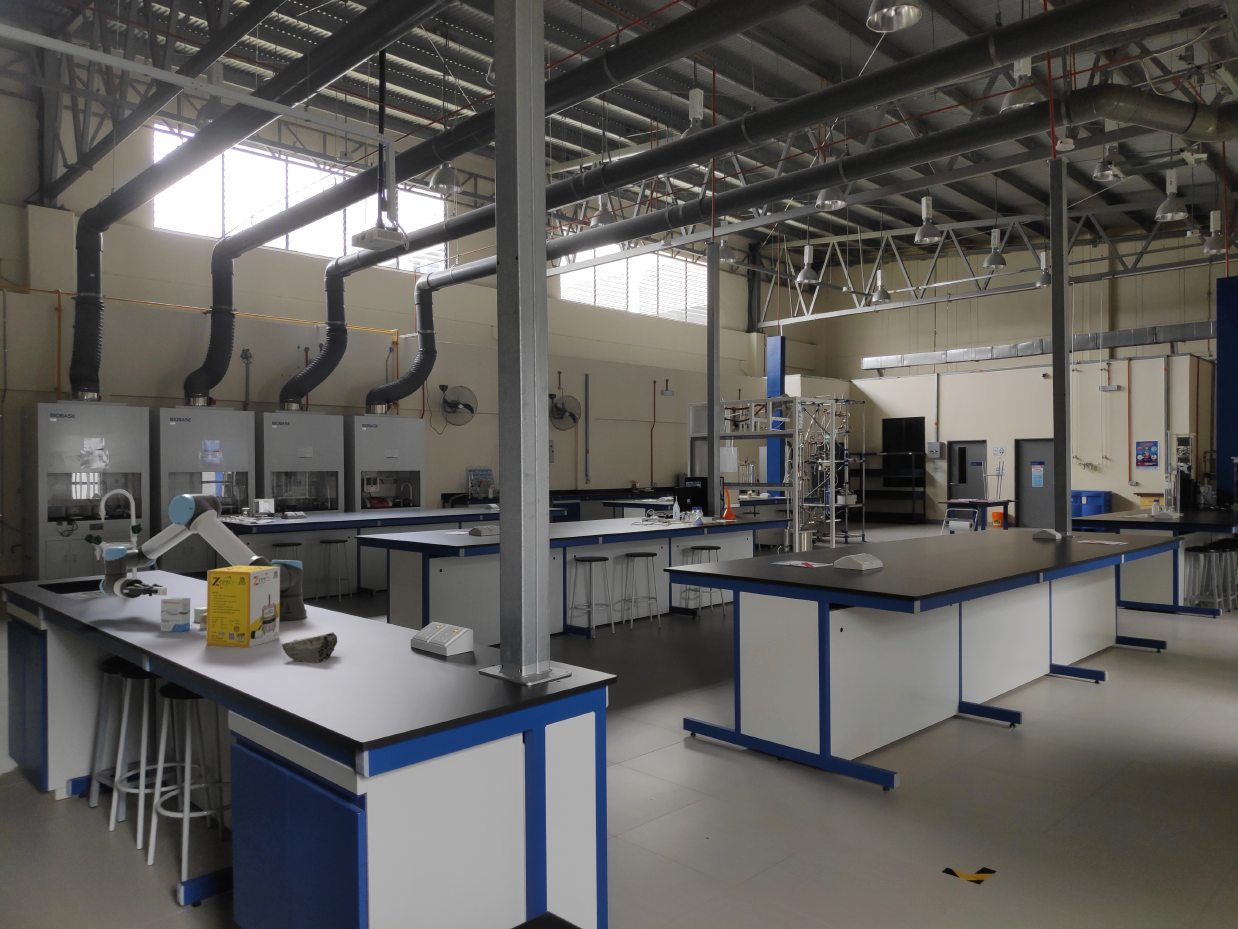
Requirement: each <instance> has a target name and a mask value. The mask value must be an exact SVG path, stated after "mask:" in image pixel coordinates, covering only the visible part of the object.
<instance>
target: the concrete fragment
mask: <svg viewBox="0 0 1238 929" xmlns="http://www.w3.org/2000/svg"><path fill="white" fill-rule="evenodd" d="M337 644H338V637H337V635H336V634H335V632H327V633H323V634H321V635H316V636H310V637H304V638H299V639H293V640H291V641H288V642H285V643H282V644H281V647H282V649H283V650H284V653H285V655H286V656H288V658H289V659H291V660H294V661H298V662H305V663H312V664H316V663H321V662H322V661H325V660H327V659H329V658H331V655H332V654H333V652H334V651H335V648H336V645H337Z"/></svg>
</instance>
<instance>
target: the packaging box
mask: <svg viewBox="0 0 1238 929" xmlns="http://www.w3.org/2000/svg"><path fill="white" fill-rule="evenodd" d="M206 581H207V582H206V585H207V586H206V607H207V629H206V641H205V642H206V646H217V647H234V648H235V647H236V648H252V647H256V646H259V645H261V644H265V643H267V642H271V641H274V640H277V639H279V638H280V621H279V614H280V567H268V566H240V565H238V566H232V565H231V566H228V567H227V566H226V567H221V568H215V569H210V570H207V580H206Z"/></svg>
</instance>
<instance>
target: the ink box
mask: <svg viewBox="0 0 1238 929" xmlns="http://www.w3.org/2000/svg"><path fill="white" fill-rule="evenodd" d="M160 601H161V602H160V631H161V632H180V633H181V632H186V631H188V630H189V631H190V630H191V598H190V597H174V596H173V597H172V596H171V597H170V596H168V597H165V598H162V599H160Z"/></svg>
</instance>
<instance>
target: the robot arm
mask: <svg viewBox="0 0 1238 929" xmlns="http://www.w3.org/2000/svg"><path fill="white" fill-rule="evenodd" d="M222 507H223V506H222V503H221V501H220V499H219V498H218V497H217V496H214V495H213V494H210V493H184V494H179V495H177V496H175V497H173V498H172V500H171V501H170V502H169V505H168V508H167V509H168V518H169V519H170V521H171V522H172V523H171V524H170V525H169V526H167V527H166V528H164V529H163V530H162V531H161V532H159V533H157V534H156V535H155V536H153V537H151V538H150V539H149V540H148V541H146V542H144V543H143V544H141V545H140V546H139V547H137V548H136V549H135V548H134V549H129V550H128V549H127V547H126V546H109V547H106V548H105V550H104V556H103V557H104V558H103V559H104V578H102V579H101V581H100V582H99V590H100V592H101V593H102V594H104V595H106V596H110V597H121V598H124V599H137V598H140V597H141V595H142V596H147V595H148V597H153V595H154V596H167V595H168V590H167V589H168V588H167V587H163V585H160V584H157V583H153V584H151V585H150V584H148V583H145V582H143V581H142V580H141V579H138V578H133V577H128V576H127V574H128V570H131V569H137V568H146V567H149V566H152V565H154V564H155V563H156V561H157V558H158V557H160V556H161V555H163V554H164V553H166V552H167V551H169V550H170V549H171V548H173V547H174V546H177V544H179V543H180V542H182V541H184V540H185V539H186V538H188V537H189V536H190V535H192V534H198V535H200V536H201V537H202V539H204V540H205V541H206V542H207V543H208V544H209V545H210V546H211V547H212V548H213V549H214V550H215V551H217V553H219V555H221V557H223V559H224V560H226V561H227V562H228V563H229V564H230V565H231V567H232V566H238V565H240V566H268V567H280V614H279V622H283V621H287V622H288V621H296V620H301V619H305V618H307V615H308V613H307V609H306V607H305V603H304V599H303V573H304V569H303V562H302V561H301V560H289V559H288V560H287V559H284V560H283V559H272V560H271V562H270V561H269V560H268V558H266V557H265V556H258V555H257V554H256V553H254V552H253V551H252V549H250V548H249V547H248V546H247V545H246V544H245V543H244V542H243V541H242V540H241V539H240V538H239V537H238V536H236V534H235V533H234V532H232V531H231V530H230V529H229V528H228V527H227V526H226V525H225V524H224V523H223V522H222V521H221V520H219V518H220V516H221V513H222V509H223V508H222Z"/></svg>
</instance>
